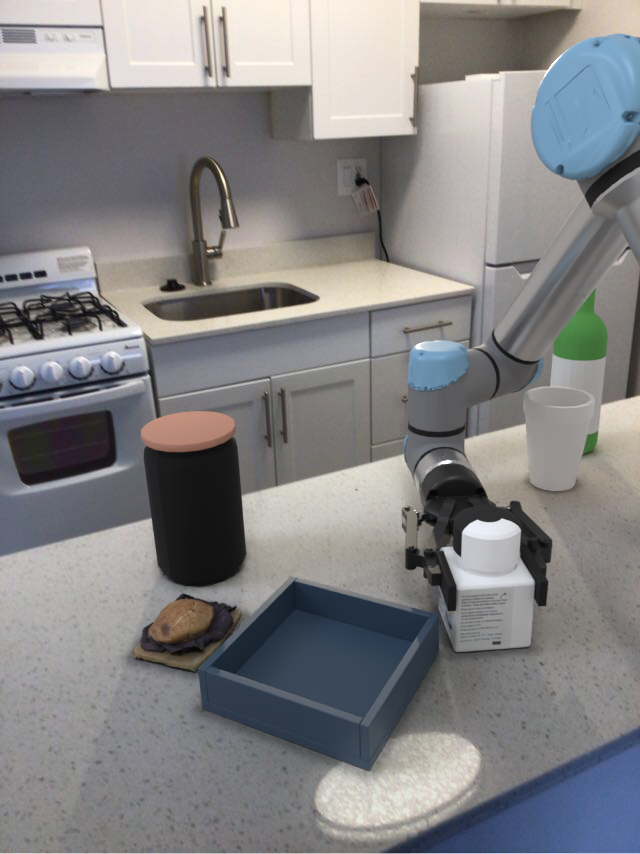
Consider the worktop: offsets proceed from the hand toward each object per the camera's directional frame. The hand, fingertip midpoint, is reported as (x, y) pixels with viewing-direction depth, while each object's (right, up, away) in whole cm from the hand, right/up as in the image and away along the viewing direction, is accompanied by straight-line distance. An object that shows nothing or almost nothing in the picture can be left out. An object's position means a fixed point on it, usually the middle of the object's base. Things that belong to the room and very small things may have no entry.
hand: (497, 596), depth 71 cm
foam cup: (+17, +8, +39) cm, 43 cm away
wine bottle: (+24, +13, +50) cm, 57 cm away
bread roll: (-30, -6, +8) cm, 32 cm away
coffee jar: (-31, -1, +21) cm, 37 cm away
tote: (-16, -8, 0) cm, 18 cm away
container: (0, -5, +7) cm, 9 cm away
